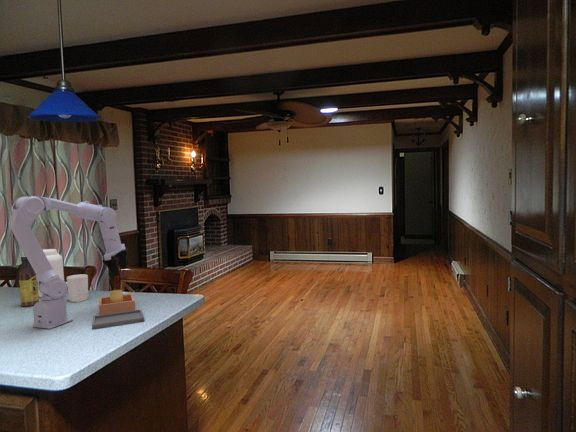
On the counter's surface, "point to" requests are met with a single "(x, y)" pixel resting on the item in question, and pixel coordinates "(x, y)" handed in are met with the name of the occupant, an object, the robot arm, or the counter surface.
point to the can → (54, 263)
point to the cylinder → (116, 296)
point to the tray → (117, 319)
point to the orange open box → (116, 305)
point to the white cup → (78, 287)
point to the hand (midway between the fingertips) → (120, 272)
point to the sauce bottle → (28, 284)
